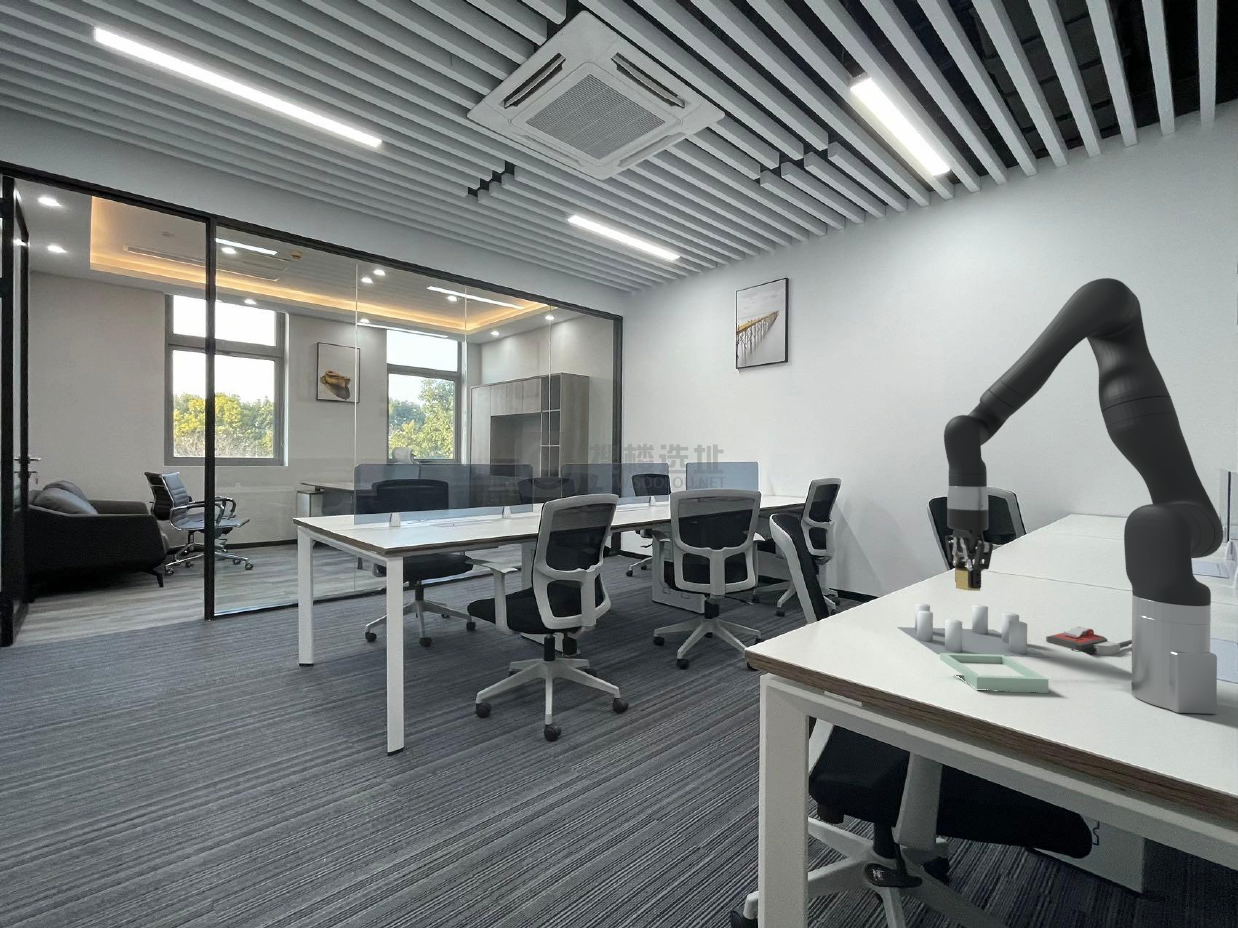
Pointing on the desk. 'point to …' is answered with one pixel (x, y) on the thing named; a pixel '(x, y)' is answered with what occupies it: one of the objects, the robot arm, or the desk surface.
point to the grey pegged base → (972, 634)
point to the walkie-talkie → (1086, 642)
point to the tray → (1000, 683)
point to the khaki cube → (963, 579)
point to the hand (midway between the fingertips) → (967, 585)
